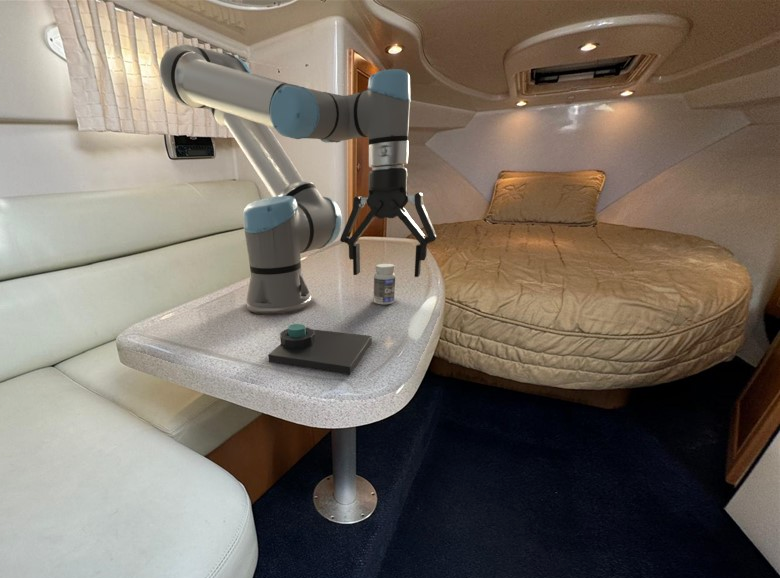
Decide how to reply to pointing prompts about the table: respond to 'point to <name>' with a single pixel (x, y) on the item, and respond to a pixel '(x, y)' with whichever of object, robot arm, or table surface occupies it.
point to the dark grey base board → (321, 350)
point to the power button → (296, 330)
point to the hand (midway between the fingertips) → (386, 274)
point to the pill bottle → (384, 284)
